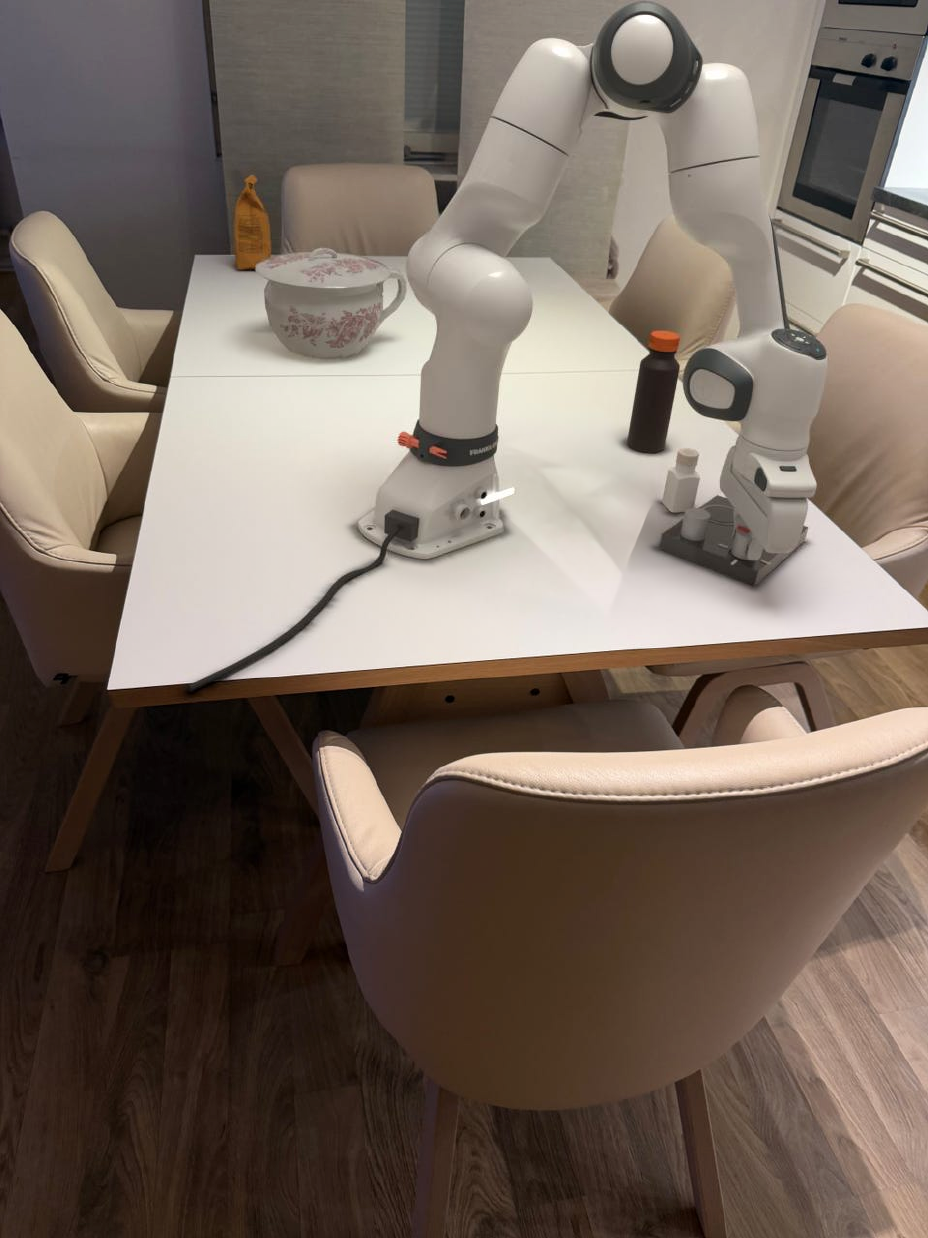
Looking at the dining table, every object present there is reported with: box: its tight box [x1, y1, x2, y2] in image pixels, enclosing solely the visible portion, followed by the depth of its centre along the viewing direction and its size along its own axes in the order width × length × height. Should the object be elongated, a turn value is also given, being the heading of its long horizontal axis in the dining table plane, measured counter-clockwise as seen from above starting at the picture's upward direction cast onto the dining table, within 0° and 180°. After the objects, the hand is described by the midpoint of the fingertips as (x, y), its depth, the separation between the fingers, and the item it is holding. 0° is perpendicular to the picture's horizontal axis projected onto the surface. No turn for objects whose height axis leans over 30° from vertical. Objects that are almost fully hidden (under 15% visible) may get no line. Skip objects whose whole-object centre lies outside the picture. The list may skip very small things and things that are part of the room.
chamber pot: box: [255, 247, 407, 360], centre depth 198 cm, size 28×28×21 cm
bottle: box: [626, 330, 681, 454], centre depth 165 cm, size 7×7×20 cm
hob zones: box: [681, 505, 734, 541], centre depth 139 cm, size 14×14×4 cm
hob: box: [658, 494, 809, 587], centre depth 141 cm, size 19×15×3 cm
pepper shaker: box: [661, 447, 701, 514], centre depth 148 cm, size 4×4×10 cm
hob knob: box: [731, 526, 753, 560], centre depth 133 cm, size 4×4×4 cm
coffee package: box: [233, 174, 272, 271], centre depth 251 cm, size 10×12×22 cm
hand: (745, 548), depth 134 cm, fingers closed on hob knob, 3 cm apart
